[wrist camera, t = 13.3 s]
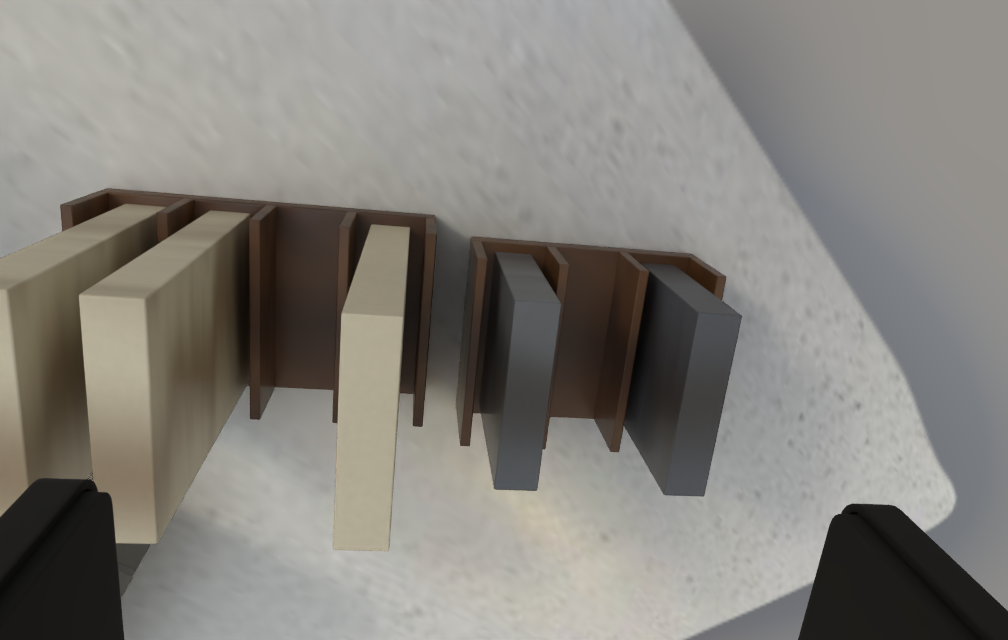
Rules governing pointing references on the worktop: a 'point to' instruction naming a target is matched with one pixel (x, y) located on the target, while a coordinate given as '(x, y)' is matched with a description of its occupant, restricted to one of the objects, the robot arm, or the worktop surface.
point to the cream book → (370, 391)
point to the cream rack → (177, 335)
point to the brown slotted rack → (594, 355)
